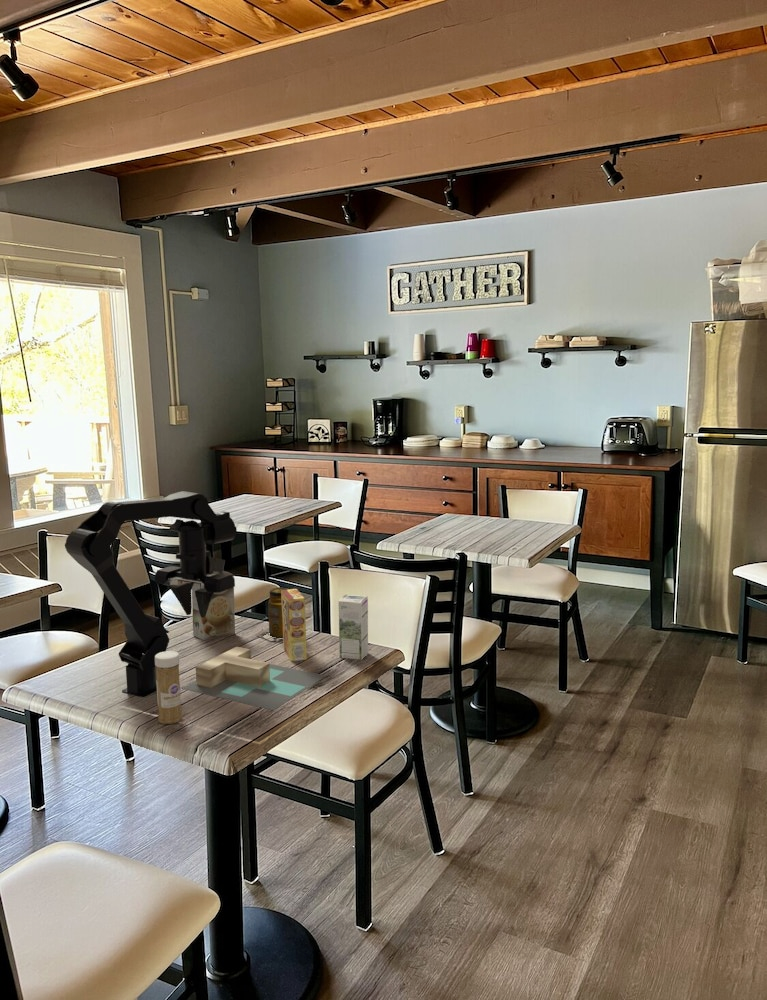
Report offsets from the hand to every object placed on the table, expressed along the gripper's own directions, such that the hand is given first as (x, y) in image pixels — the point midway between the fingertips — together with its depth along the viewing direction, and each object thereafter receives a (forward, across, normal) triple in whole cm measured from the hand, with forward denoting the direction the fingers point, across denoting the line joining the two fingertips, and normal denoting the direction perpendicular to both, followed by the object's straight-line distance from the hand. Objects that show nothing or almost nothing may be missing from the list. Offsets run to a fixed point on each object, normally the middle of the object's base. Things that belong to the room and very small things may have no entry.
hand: (196, 615), depth 175 cm
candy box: (+13, -14, -18) cm, 26 cm away
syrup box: (+13, -27, -24) cm, 38 cm away
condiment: (+13, -2, -28) cm, 31 cm away
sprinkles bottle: (+13, -12, +22) cm, 28 cm away
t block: (+13, -12, 0) cm, 17 cm away
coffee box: (+13, +13, -21) cm, 28 cm away
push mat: (+13, -16, 0) cm, 21 cm away
